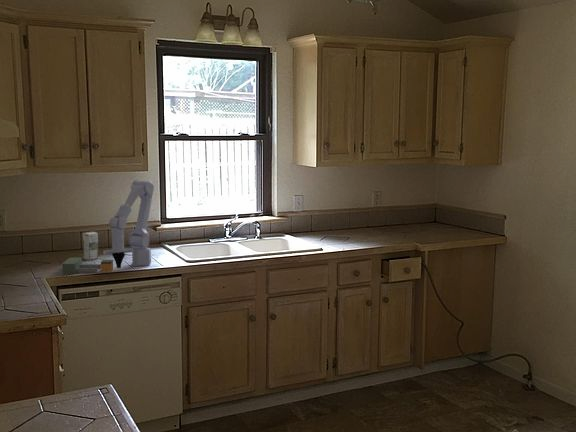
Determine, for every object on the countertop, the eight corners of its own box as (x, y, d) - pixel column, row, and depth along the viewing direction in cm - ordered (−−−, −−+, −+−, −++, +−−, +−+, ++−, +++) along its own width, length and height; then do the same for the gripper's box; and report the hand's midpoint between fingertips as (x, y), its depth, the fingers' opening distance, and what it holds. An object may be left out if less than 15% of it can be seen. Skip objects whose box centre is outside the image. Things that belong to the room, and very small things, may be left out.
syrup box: (92, 257, 336) (91, 231, 334) (98, 258, 332) (97, 232, 330) (83, 258, 332) (82, 232, 330) (89, 260, 328) (88, 233, 326)
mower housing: (102, 267, 313) (101, 257, 313) (96, 273, 300) (95, 263, 299) (69, 267, 312) (69, 257, 311) (62, 273, 298) (62, 263, 297)
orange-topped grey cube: (113, 269, 309) (113, 259, 309) (111, 271, 305) (111, 261, 304) (103, 269, 309) (102, 259, 308) (101, 271, 304) (100, 261, 303)
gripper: (129, 238, 312) (130, 264, 314) (101, 240, 305) (101, 267, 307) (134, 240, 306) (134, 267, 308) (105, 243, 299) (106, 270, 301)
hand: (118, 267), depth 307 cm, fingers closed
